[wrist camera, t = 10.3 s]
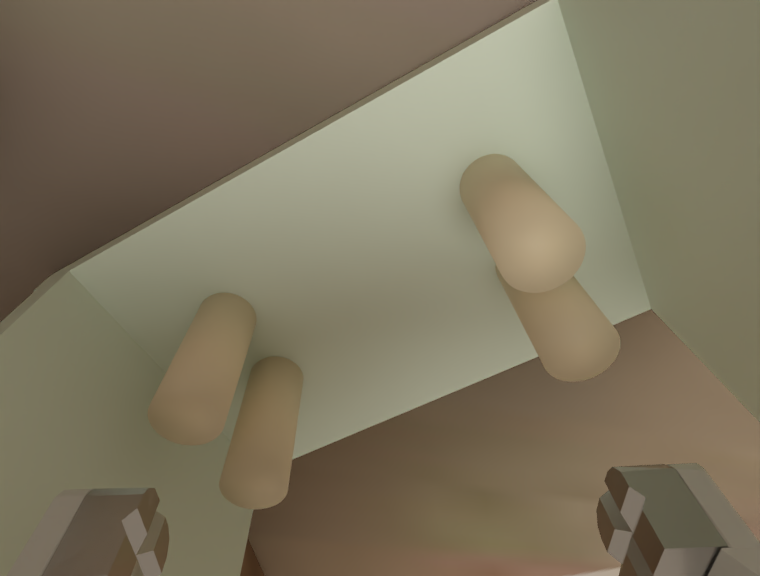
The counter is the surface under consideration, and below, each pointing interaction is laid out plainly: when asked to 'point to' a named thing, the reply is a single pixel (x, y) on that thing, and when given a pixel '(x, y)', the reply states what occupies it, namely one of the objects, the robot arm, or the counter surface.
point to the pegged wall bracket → (401, 267)
